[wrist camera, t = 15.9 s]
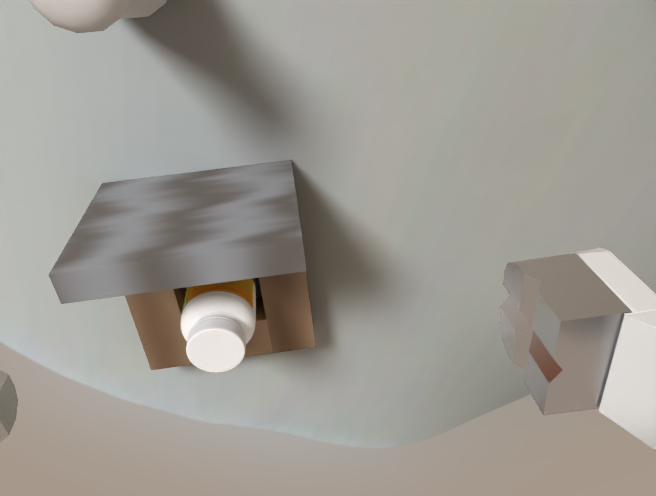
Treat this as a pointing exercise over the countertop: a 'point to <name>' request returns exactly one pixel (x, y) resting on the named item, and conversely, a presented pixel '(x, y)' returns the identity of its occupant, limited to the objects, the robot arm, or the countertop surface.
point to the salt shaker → (93, 12)
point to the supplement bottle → (219, 323)
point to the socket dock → (193, 253)
